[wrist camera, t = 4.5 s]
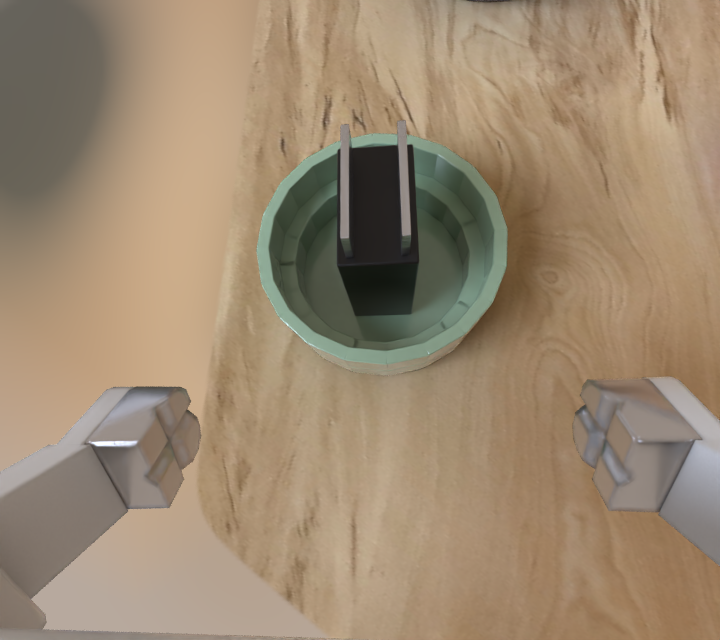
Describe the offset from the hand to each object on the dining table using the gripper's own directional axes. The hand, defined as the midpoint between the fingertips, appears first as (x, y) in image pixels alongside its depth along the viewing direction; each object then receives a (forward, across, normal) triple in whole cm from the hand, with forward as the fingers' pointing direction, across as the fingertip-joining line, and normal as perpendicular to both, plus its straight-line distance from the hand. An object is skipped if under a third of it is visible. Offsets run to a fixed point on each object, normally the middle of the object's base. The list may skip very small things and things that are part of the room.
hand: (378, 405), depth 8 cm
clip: (+14, 0, -3) cm, 14 cm away
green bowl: (+14, 0, -4) cm, 15 cm away
